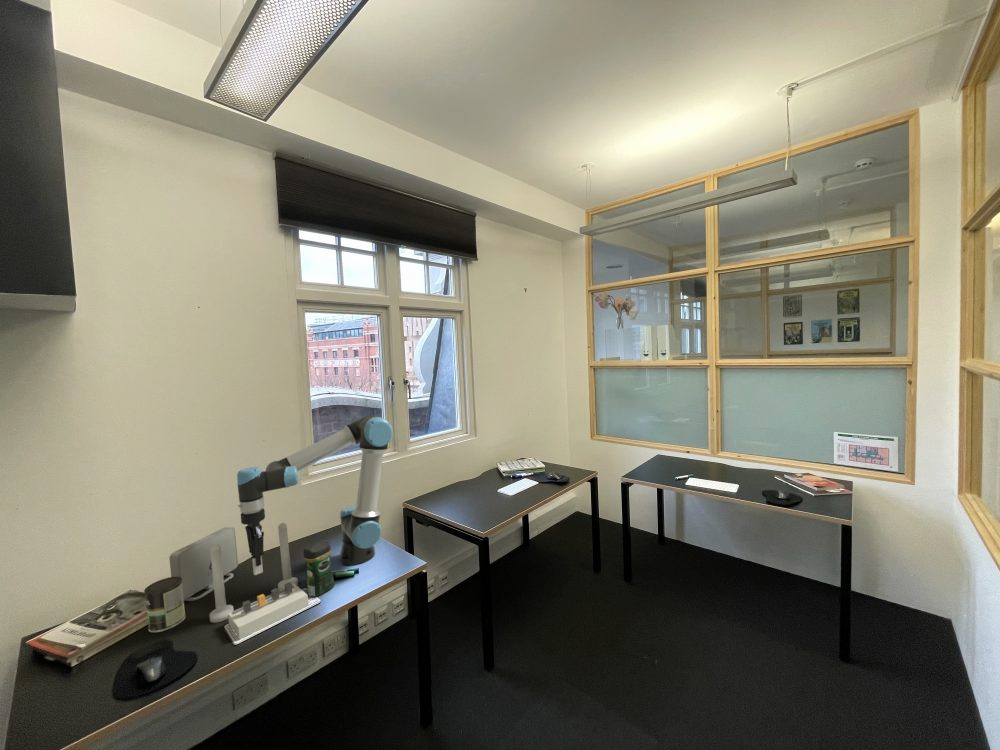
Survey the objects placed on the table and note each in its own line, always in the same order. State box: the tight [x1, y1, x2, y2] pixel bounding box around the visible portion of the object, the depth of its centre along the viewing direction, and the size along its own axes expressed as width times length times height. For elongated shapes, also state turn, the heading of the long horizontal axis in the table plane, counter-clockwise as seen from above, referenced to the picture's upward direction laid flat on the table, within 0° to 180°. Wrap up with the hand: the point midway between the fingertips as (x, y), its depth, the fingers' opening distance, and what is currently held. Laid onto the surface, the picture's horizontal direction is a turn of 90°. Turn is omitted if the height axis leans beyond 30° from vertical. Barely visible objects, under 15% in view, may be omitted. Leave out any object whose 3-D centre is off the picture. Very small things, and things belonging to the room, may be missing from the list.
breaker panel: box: [228, 584, 309, 640], centre depth 142 cm, size 22×12×4 cm, turn 138°
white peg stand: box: [209, 545, 235, 624], centre depth 143 cm, size 7×7×26 cm
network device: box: [168, 526, 239, 602], centre depth 164 cm, size 26×9×20 cm, turn 168°
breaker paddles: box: [241, 582, 294, 615], centre depth 142 cm, size 17×2×4 cm, turn 138°
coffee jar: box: [303, 539, 335, 597], centre depth 156 cm, size 10×8×19 cm
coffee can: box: [143, 576, 186, 634], centre depth 141 cm, size 10×10×14 cm
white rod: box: [277, 522, 299, 591], centre depth 160 cm, size 7×7×26 cm
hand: (258, 572), depth 148 cm, fingers closed
